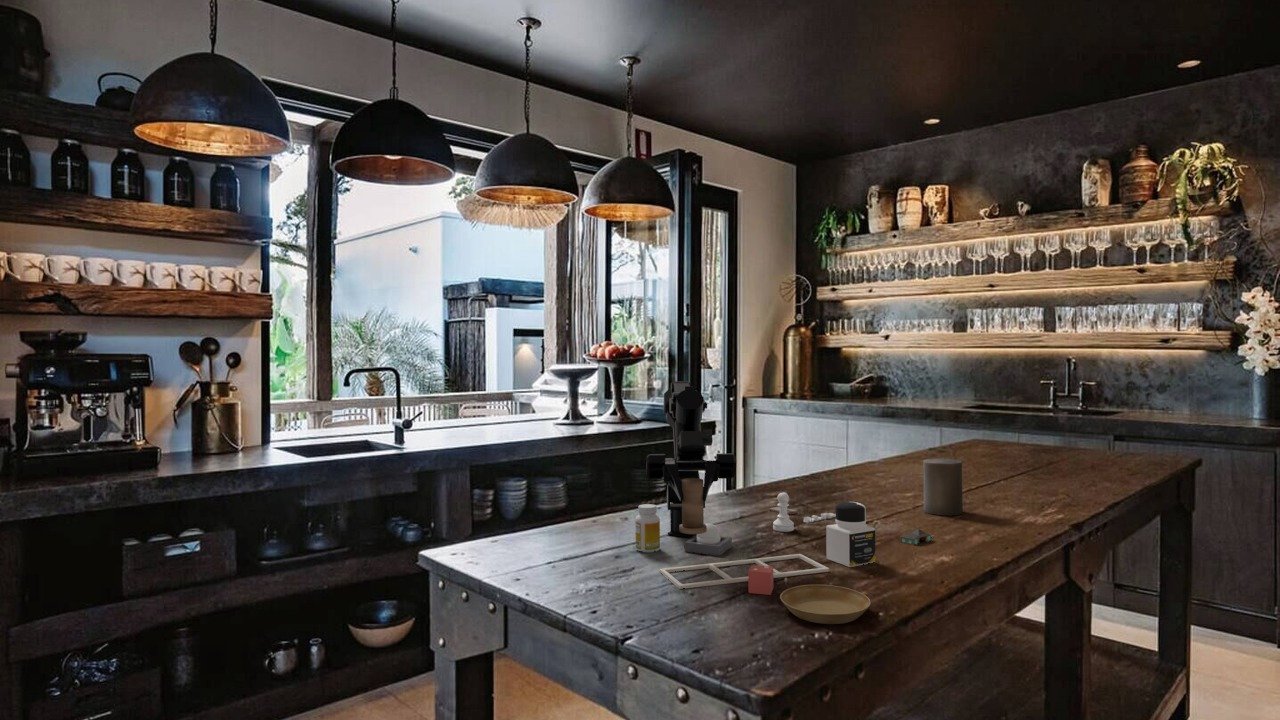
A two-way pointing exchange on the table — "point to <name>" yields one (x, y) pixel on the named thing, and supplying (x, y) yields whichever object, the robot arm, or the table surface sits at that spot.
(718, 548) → the dome base
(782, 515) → the chess pawn
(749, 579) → the red die
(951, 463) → the pillar candle
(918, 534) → the game pieces
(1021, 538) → the table surface
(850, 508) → the medicine bottle
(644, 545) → the supplement bottle
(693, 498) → the brown flanged cylinder
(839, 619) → the plant saucer
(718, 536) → the white ball
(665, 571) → the track
